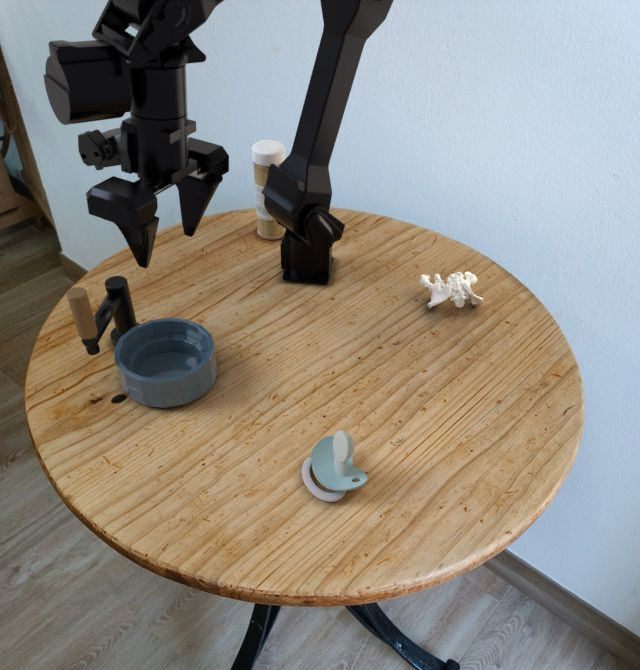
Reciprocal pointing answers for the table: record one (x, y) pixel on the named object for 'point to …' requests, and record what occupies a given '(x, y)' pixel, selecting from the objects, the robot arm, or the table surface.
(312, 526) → the table surface
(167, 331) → the basin
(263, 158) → the sprinkles bottle
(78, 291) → the black crank handle
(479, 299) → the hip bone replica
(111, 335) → the base
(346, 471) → the pacifier
